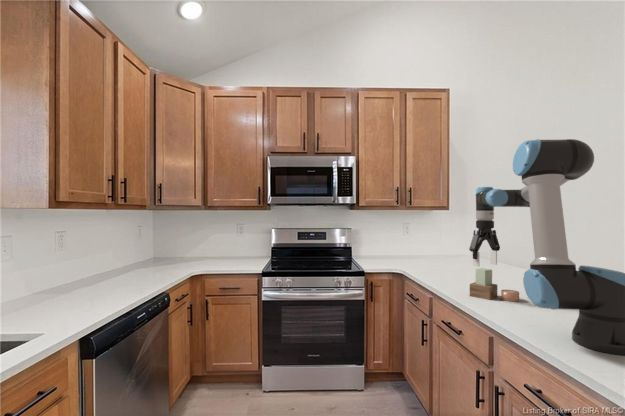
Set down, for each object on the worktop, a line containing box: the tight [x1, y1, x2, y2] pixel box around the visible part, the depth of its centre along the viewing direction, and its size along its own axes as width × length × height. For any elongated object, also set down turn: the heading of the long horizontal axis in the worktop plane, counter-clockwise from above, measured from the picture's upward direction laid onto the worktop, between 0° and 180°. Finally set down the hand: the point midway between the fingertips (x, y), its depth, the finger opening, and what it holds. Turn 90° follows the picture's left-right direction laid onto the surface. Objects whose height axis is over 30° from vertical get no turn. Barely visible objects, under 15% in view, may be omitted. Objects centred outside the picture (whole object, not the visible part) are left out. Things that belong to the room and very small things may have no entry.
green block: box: [475, 267, 493, 286], centre depth 159 cm, size 5×5×7 cm
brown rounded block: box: [500, 289, 520, 303], centre depth 152 cm, size 7×7×4 cm
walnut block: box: [469, 281, 498, 301], centre depth 158 cm, size 9×9×6 cm
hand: (485, 265), depth 157 cm, fingers open, 13 cm apart
